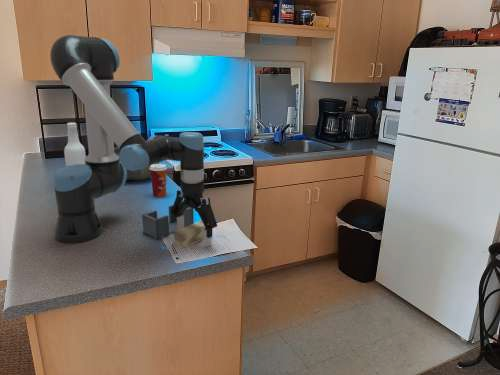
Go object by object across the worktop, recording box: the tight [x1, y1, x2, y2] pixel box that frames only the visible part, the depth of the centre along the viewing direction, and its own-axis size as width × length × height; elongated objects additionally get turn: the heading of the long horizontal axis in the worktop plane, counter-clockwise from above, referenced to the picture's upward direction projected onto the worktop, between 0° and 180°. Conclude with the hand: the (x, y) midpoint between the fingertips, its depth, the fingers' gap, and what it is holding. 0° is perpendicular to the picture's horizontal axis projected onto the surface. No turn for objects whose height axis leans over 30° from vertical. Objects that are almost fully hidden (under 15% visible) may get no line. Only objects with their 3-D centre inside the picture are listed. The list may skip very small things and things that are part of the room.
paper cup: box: [149, 163, 168, 198], centre depth 171 cm, size 8×8×14 cm
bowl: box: [114, 146, 160, 181], centre depth 195 cm, size 24×24×15 cm
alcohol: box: [63, 122, 87, 167], centre depth 177 cm, size 9×9×30 cm
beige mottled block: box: [173, 220, 209, 248], centre depth 131 cm, size 13×4×5 cm, turn 140°
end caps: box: [141, 204, 195, 240], centre depth 138 cm, size 17×8×7 cm, turn 140°
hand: (193, 239), depth 131 cm, fingers open, 13 cm apart
